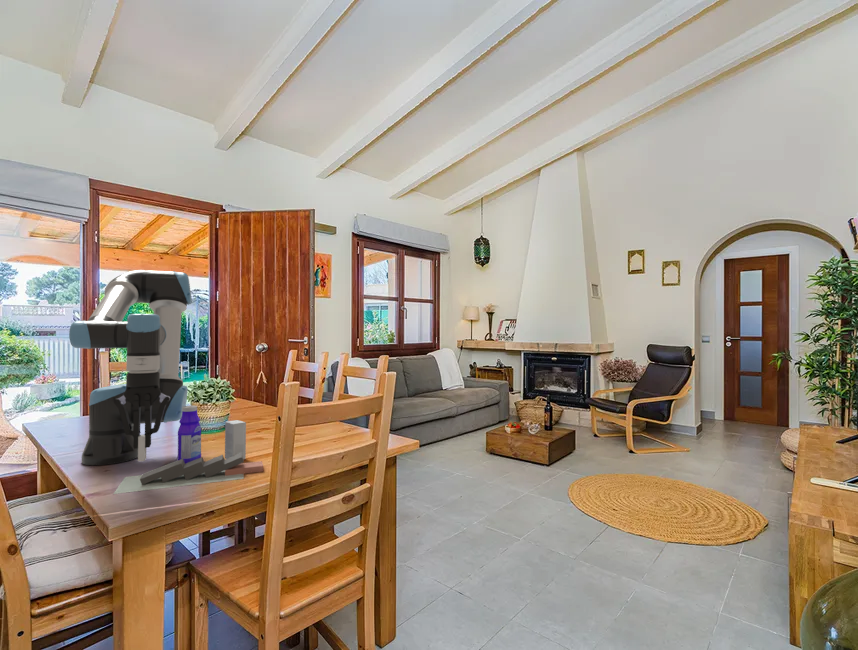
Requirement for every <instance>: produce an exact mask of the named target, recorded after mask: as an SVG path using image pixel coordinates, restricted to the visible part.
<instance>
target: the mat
mask: <svg viewBox="0 0 858 650" xmlns="http://www.w3.org/2000/svg"><path fill="white" fill-rule="evenodd" d="M244 474H245V473H244ZM244 474H236V475H227V476H225V470H224V471H222V472H219V473H217V474H215V475H212V476H210V477H207V478H206V475H205V473H202V474H200V475H197V476H195V477H193V478H190V479H188V480H186V479H185V477H184V475H182V476H179V477H177V478H174V479H172V480H169V481H167V482H164V483H163V481H162V479H161V478H158V479H156V480H153V481H151V482H148V483H145V484H143V485H142V484H141V481H140V478H141V476H142V475H143V474H142V475H133V476H125V477H124V478H123V479H122V481H121V482H120V483H119V485H118V486H117V488H116V490H115V491H114V492H113V495H117V494H126V493H133V492H134V493H135V492H143V491H150V490H161V489H169V488H177V487H185V486H194V485H201V484H210V483H218V482H226V481H227V482H228V481H237V480H244V479H245V476H244Z"/></svg>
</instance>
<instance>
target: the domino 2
mask: <svg viewBox="0 0 858 650" xmlns="http://www.w3.org/2000/svg"><path fill="white" fill-rule="evenodd" d="M204 462H205V460H204V459H203V457H202V456H201V458H198V459H196V460H193V461H190V462H188V463H185V465H184V468H183V469H181V470H179V471H176V472H173V473H171V474H168V475H166V476H163V477H161V479H162V481H163V483H164V482H167V481H169V480H172V479H174V478H177V477H179V476H182V475H184V474H187V473H189V472H192V471H194V470H197V469H199V468H202V467H203V465H204Z"/></svg>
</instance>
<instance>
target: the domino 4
mask: <svg viewBox="0 0 858 650" xmlns="http://www.w3.org/2000/svg"><path fill="white" fill-rule="evenodd" d="M244 460H245V459H243V456H242V453H240V454H237V455H235V456H232V457H230V458H227V459H226V458H224V465H222V466H219V467H217V468H214V469H212V470H210V471H207V472H205V475H206V478H207V477H210V476H212V475H215V474H217V473H219V472H222V471H224V470H227V469H229V468H231V467H234V466H236V465H238V464H241V463H245V461H244Z"/></svg>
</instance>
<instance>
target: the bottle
mask: <svg viewBox="0 0 858 650" xmlns="http://www.w3.org/2000/svg"><path fill="white" fill-rule="evenodd" d="M200 421H201V419H200V417H199V415H198V405H186V406H184V407H182V417H181V419H180V420H178V422H179V427H178V430H177V460H180V459H183V460H184V462H185V463H188V462H190V461H193V460H196V459H198V458H201V457H202V426H201V424H200Z"/></svg>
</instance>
